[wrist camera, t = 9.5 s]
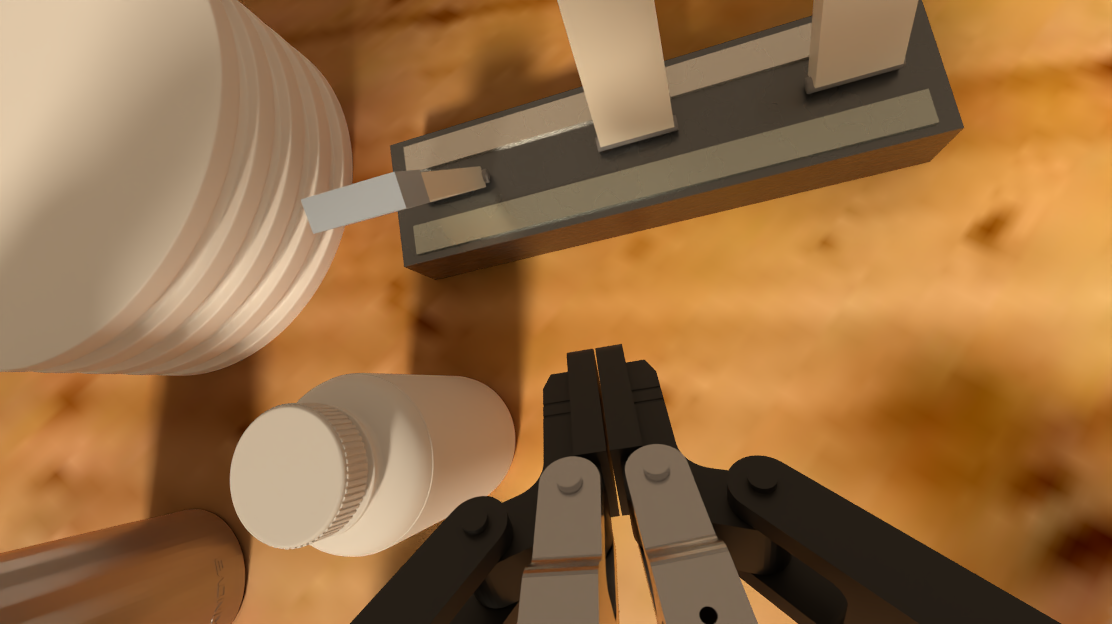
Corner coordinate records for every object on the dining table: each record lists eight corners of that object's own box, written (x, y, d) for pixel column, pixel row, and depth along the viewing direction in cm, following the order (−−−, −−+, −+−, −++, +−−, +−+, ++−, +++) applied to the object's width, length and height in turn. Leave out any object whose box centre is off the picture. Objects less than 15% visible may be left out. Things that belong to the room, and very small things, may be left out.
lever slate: (492, 187, 32) (408, 207, 21) (425, 205, 33) (311, 234, 22) (486, 163, 31) (396, 171, 20) (418, 182, 32) (298, 200, 21)
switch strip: (929, 161, 29) (966, 125, 25) (435, 279, 36) (402, 266, 32) (889, 33, 31) (917, -20, 27) (421, 170, 38) (388, 144, 34)
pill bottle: (384, 416, 36) (173, 434, 21) (482, 353, 35) (328, 328, 20) (436, 527, 34) (242, 629, 19) (541, 464, 33) (418, 524, 18)
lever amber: (679, 136, 29) (639, -131, 20) (599, 158, 30) (526, -86, 21) (675, 121, 29) (634, -141, 21) (597, 143, 30) (526, -98, 22)
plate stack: (64, 101, 49) (-122, 18, 38) (328, -16, 42) (199, -157, 31) (75, 410, 43) (-138, 417, 32) (379, 326, 37) (244, 300, 26)
